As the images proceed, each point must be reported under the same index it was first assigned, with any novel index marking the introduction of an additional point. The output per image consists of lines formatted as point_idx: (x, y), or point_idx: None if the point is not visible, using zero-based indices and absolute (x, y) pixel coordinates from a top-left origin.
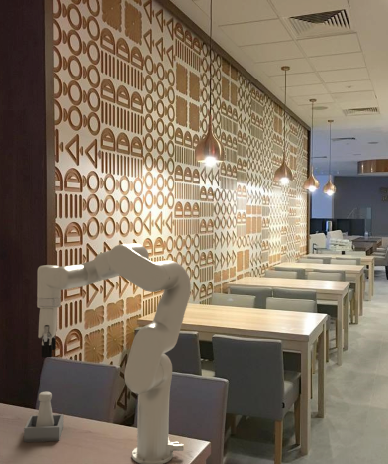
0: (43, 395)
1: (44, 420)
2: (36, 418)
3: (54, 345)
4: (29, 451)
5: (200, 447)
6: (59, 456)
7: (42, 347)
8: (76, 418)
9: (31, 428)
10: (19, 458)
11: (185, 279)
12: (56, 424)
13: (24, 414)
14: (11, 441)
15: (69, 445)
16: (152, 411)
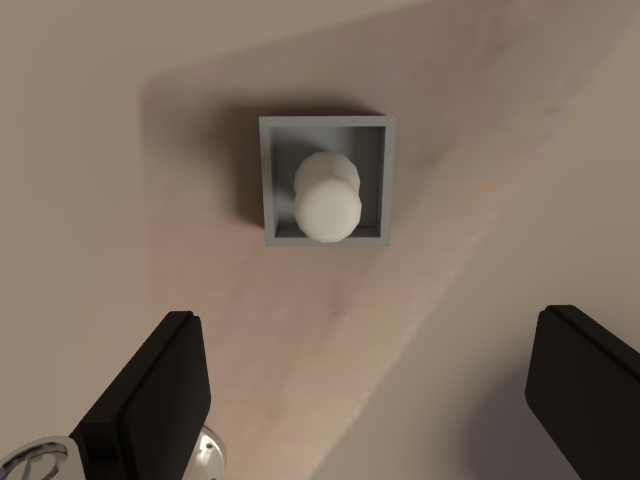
0: (298, 207)
1: (296, 191)
2: (382, 142)
3: (556, 436)
4: (196, 149)
5: None
6: (165, 245)
7: (108, 403)
8: (453, 265)
9: (260, 145)
10: (146, 127)
11: None
12: (376, 213)
13: (538, 61)
14: (275, 68)
15: (239, 265)
16: None
